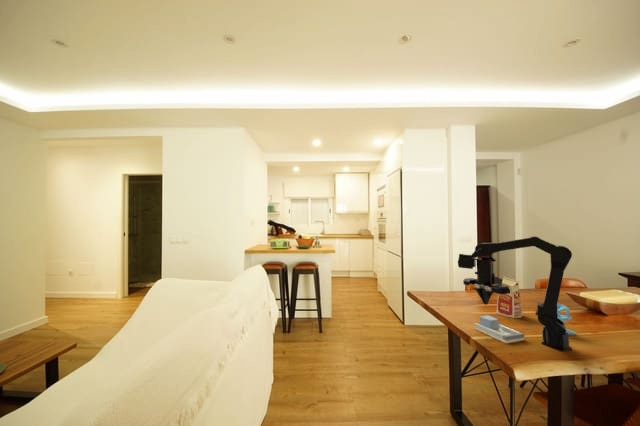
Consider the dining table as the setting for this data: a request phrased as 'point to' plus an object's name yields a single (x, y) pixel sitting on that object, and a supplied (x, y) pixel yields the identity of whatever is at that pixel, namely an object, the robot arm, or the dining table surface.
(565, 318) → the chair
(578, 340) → the dining table surface
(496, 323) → the block
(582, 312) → the dining table surface
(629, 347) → the dining table surface
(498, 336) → the board
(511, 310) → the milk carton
